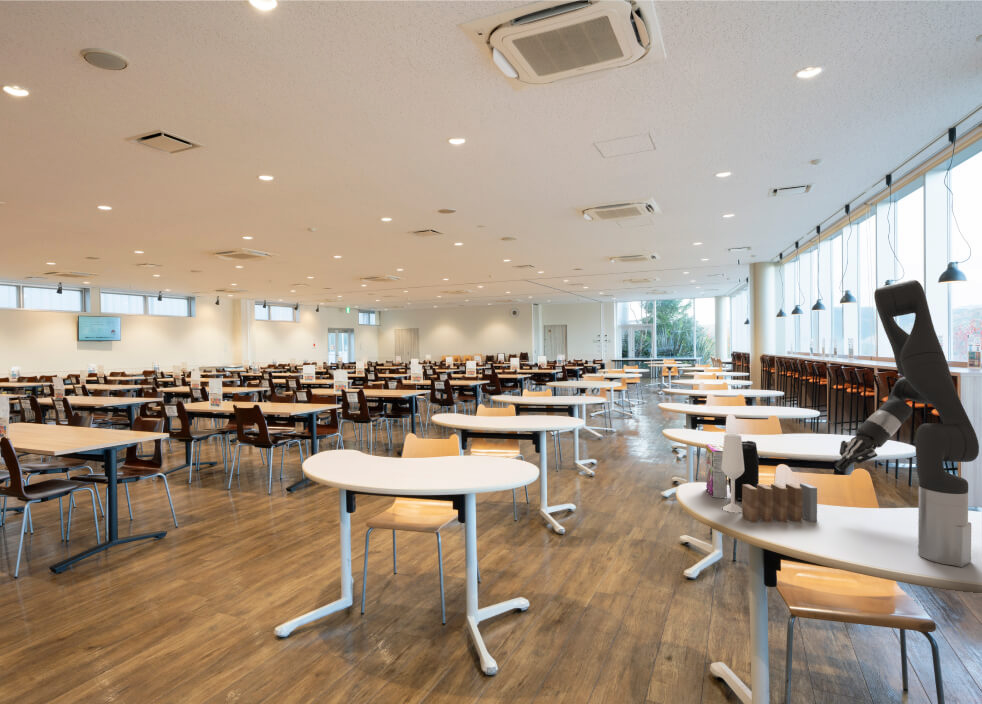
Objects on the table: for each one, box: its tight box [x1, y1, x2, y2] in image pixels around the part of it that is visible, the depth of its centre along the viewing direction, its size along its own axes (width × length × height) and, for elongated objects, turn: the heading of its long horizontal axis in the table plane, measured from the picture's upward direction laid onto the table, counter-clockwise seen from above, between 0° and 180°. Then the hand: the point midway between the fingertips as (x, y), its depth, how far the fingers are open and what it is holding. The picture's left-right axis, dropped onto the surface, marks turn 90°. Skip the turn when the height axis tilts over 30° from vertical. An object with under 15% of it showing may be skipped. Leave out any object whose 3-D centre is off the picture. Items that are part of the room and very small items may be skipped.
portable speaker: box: [727, 440, 760, 501], centre depth 177 cm, size 9×9×20 cm
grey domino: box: [799, 482, 818, 522], centre depth 158 cm, size 2×5×10 cm, turn 3°
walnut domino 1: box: [741, 484, 758, 523], centre depth 157 cm, size 2×5×10 cm, turn 2°
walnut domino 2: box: [757, 483, 773, 523], centre depth 158 cm, size 2×5×10 cm, turn 2°
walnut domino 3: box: [770, 483, 788, 523], centre depth 158 cm, size 2×5×10 cm, turn 1°
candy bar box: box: [705, 444, 728, 499], centre depth 184 cm, size 11×5×16 cm, turn 168°
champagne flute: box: [721, 433, 744, 514], centre depth 167 cm, size 7×7×24 cm
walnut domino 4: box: [785, 483, 803, 523], centre depth 158 cm, size 2×5×10 cm, turn 2°
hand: (838, 469), depth 158 cm, fingers closed
